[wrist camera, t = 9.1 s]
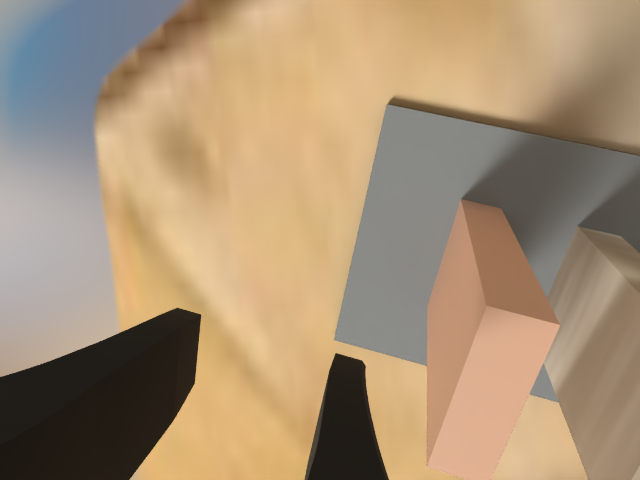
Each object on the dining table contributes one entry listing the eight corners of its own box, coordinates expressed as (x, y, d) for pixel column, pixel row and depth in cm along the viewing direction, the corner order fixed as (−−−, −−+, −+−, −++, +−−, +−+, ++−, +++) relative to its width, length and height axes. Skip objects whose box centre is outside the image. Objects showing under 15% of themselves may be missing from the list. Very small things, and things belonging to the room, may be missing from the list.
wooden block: (620, 235, 18) (785, 383, 10) (570, 343, 20) (673, 543, 11) (577, 226, 18) (702, 361, 10) (532, 333, 20) (605, 522, 12)
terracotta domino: (501, 208, 18) (560, 325, 10) (463, 315, 20) (487, 486, 12) (460, 199, 19) (486, 305, 10) (427, 305, 21) (426, 467, 12)
